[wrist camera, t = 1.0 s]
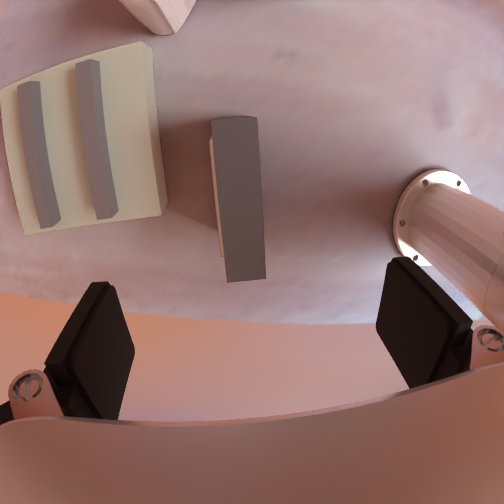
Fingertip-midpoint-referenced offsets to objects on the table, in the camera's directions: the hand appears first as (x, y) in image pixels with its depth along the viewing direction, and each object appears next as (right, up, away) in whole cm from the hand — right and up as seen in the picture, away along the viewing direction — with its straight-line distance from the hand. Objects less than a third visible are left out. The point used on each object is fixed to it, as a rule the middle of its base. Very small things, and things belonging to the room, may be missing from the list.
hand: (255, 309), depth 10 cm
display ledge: (-17, +13, +17) cm, 27 cm away
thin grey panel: (-2, +9, +20) cm, 23 cm away
